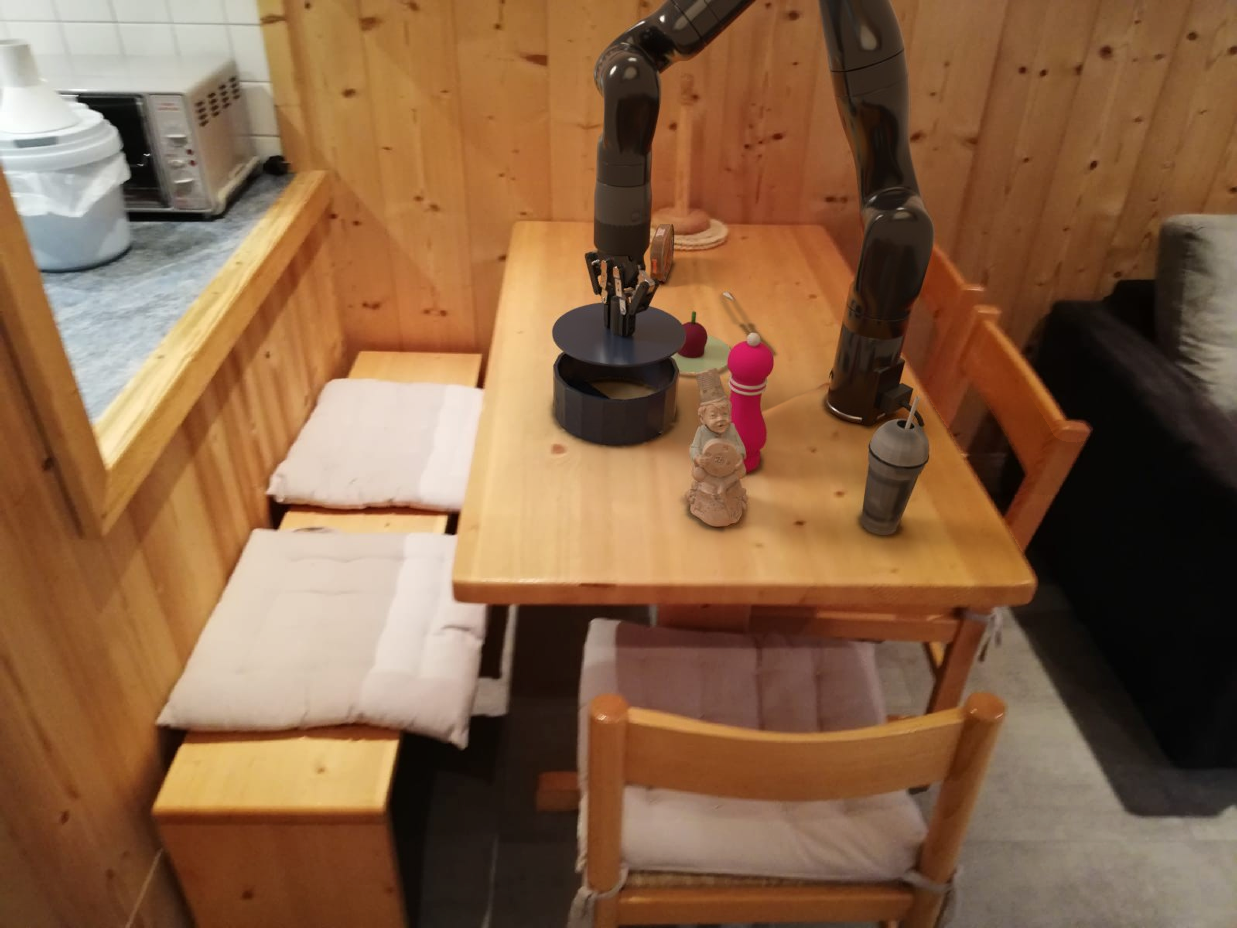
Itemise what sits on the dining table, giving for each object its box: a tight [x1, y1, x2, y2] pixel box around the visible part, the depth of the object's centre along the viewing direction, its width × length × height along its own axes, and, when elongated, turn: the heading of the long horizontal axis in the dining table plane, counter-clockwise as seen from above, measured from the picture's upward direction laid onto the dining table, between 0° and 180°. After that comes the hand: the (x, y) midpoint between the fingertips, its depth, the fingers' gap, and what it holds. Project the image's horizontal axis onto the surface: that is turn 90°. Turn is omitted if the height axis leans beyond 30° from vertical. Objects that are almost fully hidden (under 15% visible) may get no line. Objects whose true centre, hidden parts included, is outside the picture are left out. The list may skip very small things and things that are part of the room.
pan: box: [552, 351, 680, 447], centre depth 135 cm, size 18×18×8 cm
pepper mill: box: [726, 332, 775, 473], centre depth 122 cm, size 7×7×20 cm
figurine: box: [684, 367, 749, 527], centre depth 113 cm, size 9×8×20 cm
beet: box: [677, 310, 708, 358], centre depth 149 cm, size 5×5×7 cm
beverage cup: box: [861, 395, 930, 536], centre depth 112 cm, size 7×7×20 cm
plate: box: [671, 334, 732, 374], centre depth 151 cm, size 14×14×1 cm
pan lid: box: [551, 296, 686, 367], centre depth 128 cm, size 19×19×6 cm
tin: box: [649, 223, 675, 283], centre depth 176 cm, size 15×3×8 cm, turn 168°
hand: (618, 330), depth 129 cm, fingers closed on pan lid, 2 cm apart
